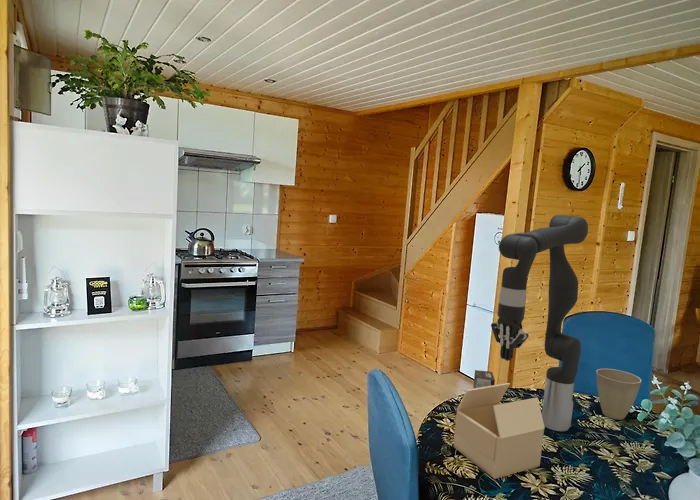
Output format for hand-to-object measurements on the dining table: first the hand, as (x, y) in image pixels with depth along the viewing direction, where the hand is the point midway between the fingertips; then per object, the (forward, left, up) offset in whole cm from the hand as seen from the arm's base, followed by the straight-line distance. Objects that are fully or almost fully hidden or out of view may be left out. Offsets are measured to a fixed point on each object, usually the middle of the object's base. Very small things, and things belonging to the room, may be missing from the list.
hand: (505, 359), depth 140 cm
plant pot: (-66, -6, -31) cm, 73 cm away
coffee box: (-14, -22, -31) cm, 41 cm away
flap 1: (0, -7, -15) cm, 17 cm away
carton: (0, 0, -31) cm, 31 cm away
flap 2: (0, +7, -15) cm, 17 cm away
